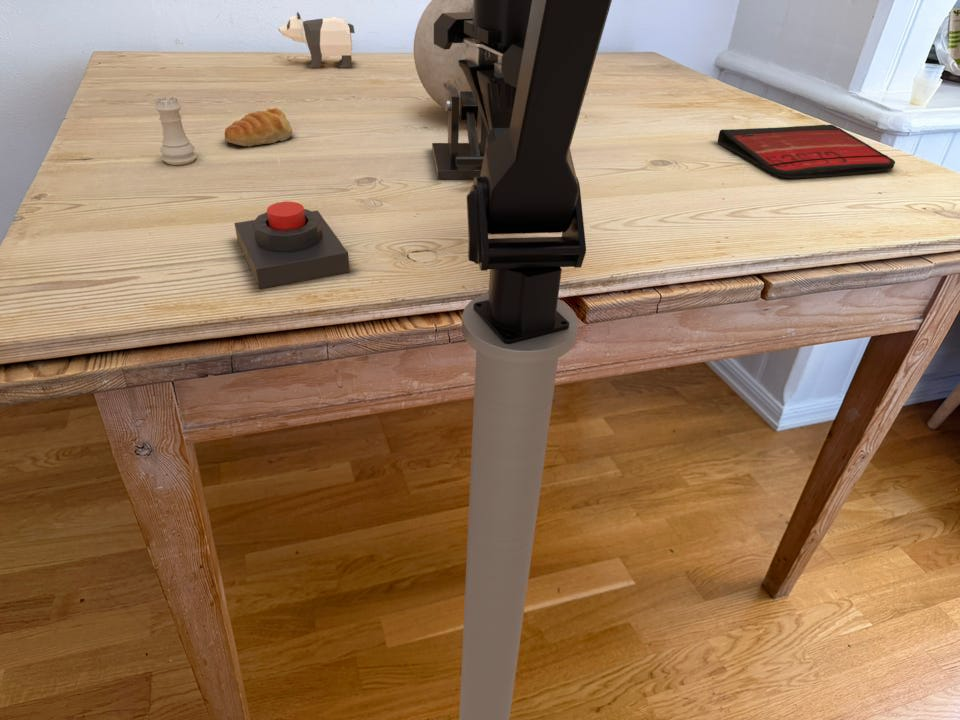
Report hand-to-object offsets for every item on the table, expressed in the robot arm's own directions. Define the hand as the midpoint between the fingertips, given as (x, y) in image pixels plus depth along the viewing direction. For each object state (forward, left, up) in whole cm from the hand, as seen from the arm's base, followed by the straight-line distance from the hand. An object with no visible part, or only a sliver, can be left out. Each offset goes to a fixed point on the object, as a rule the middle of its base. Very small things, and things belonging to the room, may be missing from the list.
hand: (497, 141), depth 66 cm
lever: (+21, -8, -7) cm, 24 cm away
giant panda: (+86, -6, -12) cm, 87 cm away
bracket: (+25, -9, -12) cm, 29 cm away
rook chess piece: (+40, +27, -12) cm, 50 cm away
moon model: (+45, -20, -12) cm, 51 cm away
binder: (+10, -59, -12) cm, 61 cm away
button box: (+7, +20, -12) cm, 24 cm away
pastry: (+45, +15, -12) cm, 49 cm away
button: (+7, +20, -8) cm, 23 cm away
